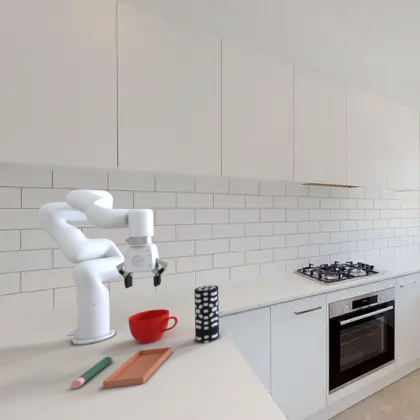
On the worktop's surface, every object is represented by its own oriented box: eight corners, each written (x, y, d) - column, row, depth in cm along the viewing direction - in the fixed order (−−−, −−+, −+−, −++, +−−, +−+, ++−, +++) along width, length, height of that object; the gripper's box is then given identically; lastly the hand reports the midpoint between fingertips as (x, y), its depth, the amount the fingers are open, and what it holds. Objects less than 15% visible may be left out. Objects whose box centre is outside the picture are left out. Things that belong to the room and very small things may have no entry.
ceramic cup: (167, 346, 116) (167, 319, 116) (120, 348, 115) (119, 321, 115) (186, 332, 129) (185, 308, 129) (144, 333, 128) (143, 309, 128)
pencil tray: (102, 388, 89) (102, 381, 89) (139, 355, 109) (139, 350, 109) (143, 383, 91) (143, 376, 91) (172, 352, 111) (171, 346, 111)
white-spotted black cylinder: (194, 344, 117) (193, 292, 117) (196, 336, 125) (195, 286, 124) (218, 340, 120) (217, 289, 120) (219, 332, 128) (219, 284, 128)
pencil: (80, 388, 89) (81, 380, 89) (70, 388, 89) (72, 380, 89) (114, 361, 105) (115, 354, 105) (105, 361, 105) (107, 354, 105)
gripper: (109, 243, 111) (110, 290, 111) (161, 241, 114) (162, 287, 114) (122, 241, 119) (124, 285, 119) (171, 239, 121) (172, 282, 121)
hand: (143, 286), depth 116 cm, fingers open, 9 cm apart
